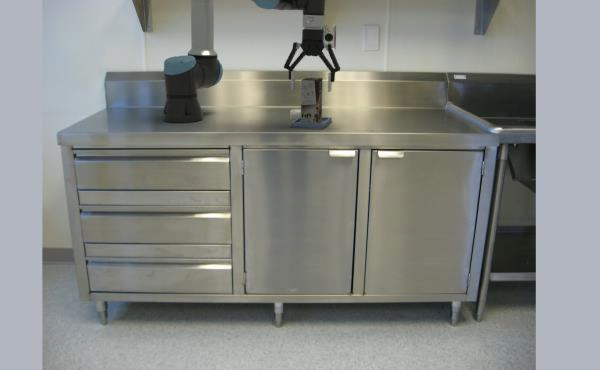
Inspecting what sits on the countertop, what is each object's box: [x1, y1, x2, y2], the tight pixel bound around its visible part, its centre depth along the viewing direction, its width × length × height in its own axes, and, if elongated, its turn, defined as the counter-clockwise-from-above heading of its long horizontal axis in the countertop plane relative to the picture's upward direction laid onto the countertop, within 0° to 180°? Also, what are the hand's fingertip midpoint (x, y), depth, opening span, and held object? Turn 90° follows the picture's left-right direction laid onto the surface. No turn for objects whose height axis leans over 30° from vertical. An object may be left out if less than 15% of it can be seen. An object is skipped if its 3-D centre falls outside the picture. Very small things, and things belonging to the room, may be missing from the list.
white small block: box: [289, 108, 301, 121], centre depth 194 cm, size 6×6×4 cm
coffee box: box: [300, 77, 323, 124], centre depth 181 cm, size 9×6×16 cm
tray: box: [290, 116, 333, 130], centre depth 184 cm, size 12×14×2 cm
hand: (311, 90), depth 180 cm, fingers open, 13 cm apart
